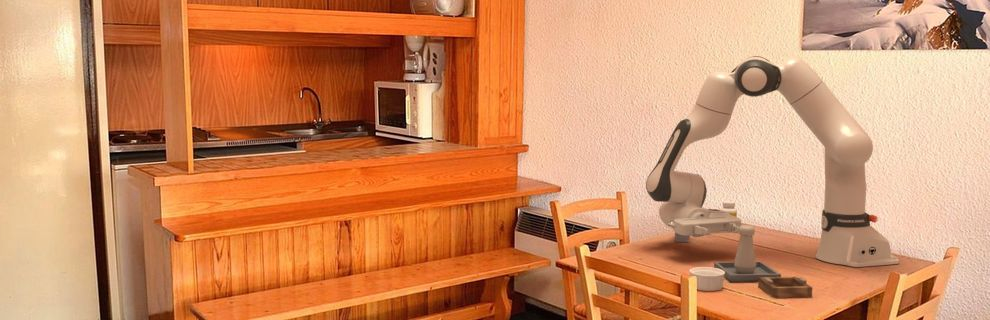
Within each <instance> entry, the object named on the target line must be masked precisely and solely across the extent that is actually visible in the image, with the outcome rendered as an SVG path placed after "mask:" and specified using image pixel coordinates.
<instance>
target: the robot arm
mask: <svg viewBox="0 0 990 320" xmlns="http://www.w3.org/2000/svg"><path fill="white" fill-rule="evenodd" d="M775 91H778V92H779V93H780V94H781V95H782V96H783V97H784V99H785V100H786V102H787V103H788V104H789V105H790V106H791V107H792V109H793V110H794V111H795V113H796V114H797V116H799V117H800V119H801V121H802V122H803V123H804V124H805V125H806V126H807V128H808V129H809V130H810V131H811V132H812V133H813V135H814V136H815V137H816V139H818V141H819V142H820V143H821V144H822V146H823V147H824V178H825V179H824V181H825V182H824V183H825V184H824V185H825V188H824V202H823V209H822V210H821V211H822V212H821V235H820V239H819V244H818V248H817V250H816V251H817V252H816V254H815V259H818V260H820V261H823V262H826V263H830V264H835V265H843V266H848V267H852V268H853V267H854V268H861V267H862V268H864V267H875V266H876V267H877V266H886V265H887V266H888V265H898V264H900V260H899V258H898V257H897V256H895V255H894V254H892V253H891V251H892V249H891V244H890V242H889V240H888V238H887V237H885V236H884V235H883V234H882V233H880V232H879V231H878V230H877V229H876V228H874V227H873V226H872V225H871V223H874V224H876V223H877V222H879V217H878V216H877V215H875V214H869V213H868V212H866V199H867V198H866V197H867V178H866V167H865V166H866V165H865V164H866V163H867V162H868V161H869V160H870V158H872V155H873V152H874V151H873V150H874V149H873V148H874V145H873V141H872V138H871V137H870V135H869V134H868V133H867V132H866V130H865V129H863V127H862V126H861V125H860V124H859V122H858V121H857V120H856V118H854V117H853V115H852V114H851V113H850V112H849V111H848V110H847V109H846V107H844V105H843V104H842V103H841V102H840V100H839V99H838V98H837V97H836V95H835V94H834V93H833V92H832V91H831V89H830V88H829V87H828V86H827V84H826V83H825V81H823V79H822V78H821V77H820V75H819V74H818V73H817V72H816V71H815V70H814V69H813V68H812V67H811V66H810V65H809V64H808V63H806V62H805V61H804V60H803V59H802V58H800V57H796V56H791V57H788V58H785V59H783V60H782V61H780V62H778V63H772V62H771V61H769V59H767V58H765V57H764V56H759V55H754V56H749V57H747V58H746V59H744V60H743V61H741V62H740V63H739V64H737V66H736V67H735V68H734V69H733V70H731V72H727V71H723V70H716V71H712V72H711V73H710V74H709V75H708V76H707V78H706V79H705V81H704V83H703V84H702V86H701V88H700V91H699V94H698V95H697V98H696V101H695V104H694V106H693V109H692V110H691V112H690V113H689V114H688V115H687V116H686V117H685V118H684V119H682V120H680V121H679V122H678V123H677V124H676V126H675V128H674V130H673V131H672V133H671V135H670V137H669V139H668V141H667V143H666V144H665V145H666V146H665V147H664V149H663V151H662V153H661V155H660V157H659V159H658V161H657V163H656V165H655V166H654V168H653V169H652V170H651V172H650V173H649V175H648V176H647V178H646V183H645V189H646V191H647V192H646V193H647V194H648V196H650V198H651V199H652V200H653V201H654V202H659V203H661V204H660V206H659V207H658V216H659V219H660V220H661V222H662V223H664V224H665V225H666V226H667V227H669V228H671V229H672V231H673V232H674V233H675V232H676V233H677V234H679V235H683V236H688V235H690V237H693V238H701V237H703V236H710V235H713V234H725V233H733V234H739V233H738V230H739V227H740V226H742V220H741V218H740V217H735V216H732V215H730V214H726V213H723V211H722V210H721V209H717V208H715V209H713V208H704V207H703V206H704V205H705V204H704V203H705V201H706V198H707V191H708V190H707V186H706V185H707V184H706V182H705V179H703V177H702V176H701V175H700V174H698V173H692V172H685V171H683V172H682V171H677V170H675V169H676V167H677V165H678V163H679V161H680V160H681V157H682V156H683V153H684V151H685V150H686V149H687V147H689V146H690V145H691V144H694V143H695V142H699V141H703V140H706V139H713V138H715V137H717V136H719V135H721V134H722V133H723V132H725V130H726V129H727V128H728V125H729V124H730V122H731V121H730V120H731V117H732V115H733V112H734V109H735V107H736V103H737V101H738V100H739V98H740V97H742V96H743V95H745V96H748V97H755V98H756V97H760V96H765V95H767V94H769V93H772V92H775Z"/></svg>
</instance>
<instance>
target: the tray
mask: <svg viewBox="0 0 990 320" xmlns="http://www.w3.org/2000/svg"><path fill="white" fill-rule="evenodd" d="M734 262H735V261H714V262H713V268H718V269H721V270H723V271H724V272H725V274H724V278H723V279H726V281H728V282H729V283H730V284H731V283H734V284H735V283H737V284H738V283H758V280H759V277H782V273H780V272H778V271H777V270H776V269H774V268H772V267H771V266H770V265H768V264H766V263H764V262H763V261H761V260H758V261H756V268H755V270H754V272H753V274H739V273H737V271H736V269H735V266H734Z"/></svg>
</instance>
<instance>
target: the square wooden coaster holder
mask: <svg viewBox="0 0 990 320" xmlns="http://www.w3.org/2000/svg"><path fill="white" fill-rule="evenodd" d="M757 284H758V286H757V287H758V288H759V289H760V290H762V291H763V292H764V293H766V294H767V295H768V296H770V297H771V298H772V299H785V298H786V299H787V298H788V299H791V298H813V287H812V286H811V285H810V284H808V283H807V279H805V278H803V277H799V276H798V277H797V276H781V277H759V280H758V282H757Z"/></svg>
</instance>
